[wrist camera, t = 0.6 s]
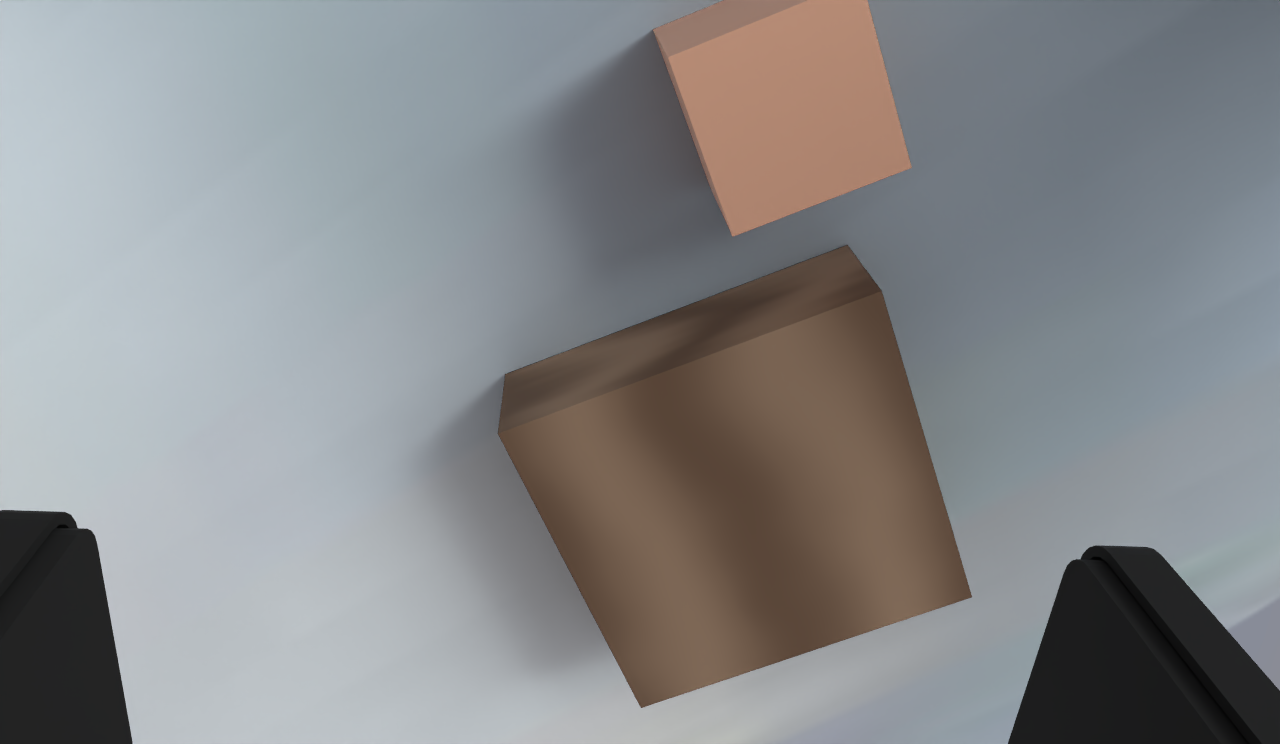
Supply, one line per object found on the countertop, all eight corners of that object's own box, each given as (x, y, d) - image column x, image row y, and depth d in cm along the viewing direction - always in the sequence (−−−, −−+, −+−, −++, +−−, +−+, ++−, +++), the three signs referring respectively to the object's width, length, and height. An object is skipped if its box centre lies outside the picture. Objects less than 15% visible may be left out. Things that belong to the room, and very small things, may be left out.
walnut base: (847, 244, 33) (881, 290, 29) (933, 528, 38) (972, 597, 34) (505, 374, 34) (497, 433, 30) (634, 631, 39) (640, 707, 36)
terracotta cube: (816, -38, 29) (861, -22, 25) (862, 125, 31) (911, 167, 27) (652, 29, 30) (667, 57, 25) (709, 185, 32) (732, 236, 27)
